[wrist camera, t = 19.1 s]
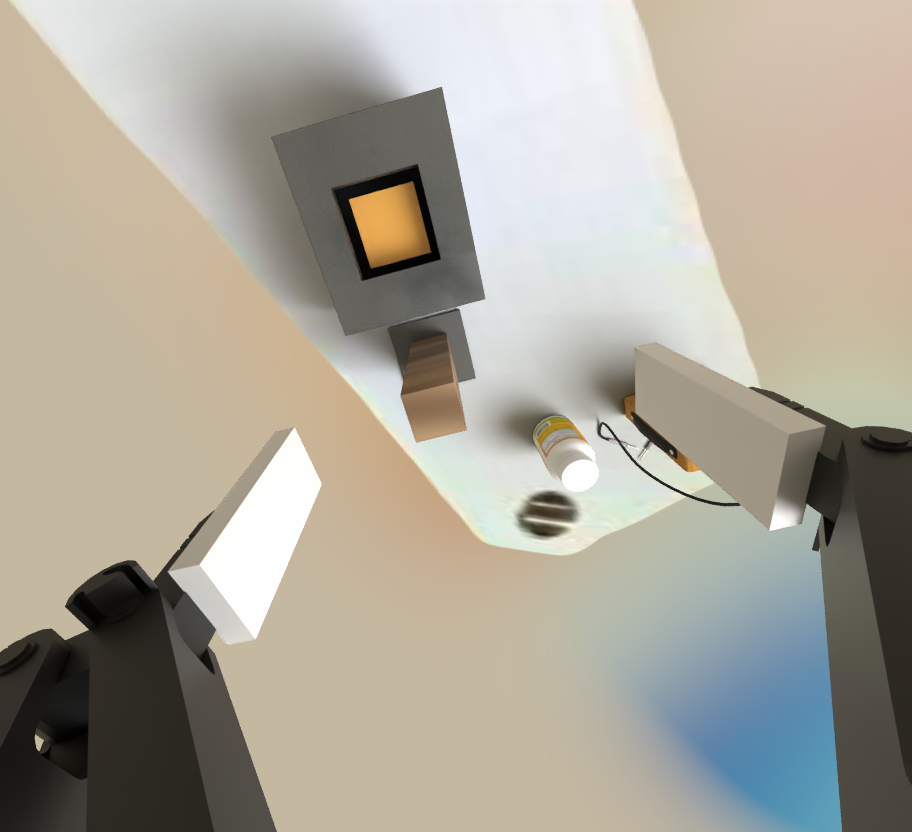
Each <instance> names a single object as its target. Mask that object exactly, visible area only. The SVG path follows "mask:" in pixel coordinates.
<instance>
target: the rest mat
mask: <svg viewBox="0 0 912 832" xmlns="http://www.w3.org/2000/svg"><path fill="white" fill-rule="evenodd" d="M388 330H389V333H390V336H391V339H392V342H393V345H394V348H395V351H396V354H397V357H398V360H399V364H400V367H401V370H402V373H403V376H405V371H406V366H407V361H408V356H409V351H410V346H411V342H414V341H418V340H422V339H425V338H429V337H433V336H437V335H441V334H445V333H446V334H447V338H448V342H449V345H450V349H451V353H452V357H453V361H454V365H455V369H456V375H457V380H458V383H459V382H463V381H467V380H471V379H475V378H476V377H475V373H474V369H473V365H472V360H471V356H470V352H469V348H468V343H467V339H466V335H465V331H464V327H463V322H462V318H461V314H460V310H455V311H452V312H448V313H444V314H440V315H436V316H433V317H429V318H425V319H421V320H417V321H414V322H410V323H406V324H402V325H398V326H395V327H391V328H388Z"/></svg>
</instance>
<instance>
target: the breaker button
mask: <svg viewBox="0 0 912 832" xmlns="http://www.w3.org/2000/svg"><path fill="white" fill-rule="evenodd" d="M349 201H350V205H351V208H352V211H353V214H354V217H355V220H356V223H357V226H358V229H359V233H360V236H361V239H362V242H363V245H364V248H365V251H366V254H367V257H368V261H369V264H370V267H371V269H372V268H376V267H379V266H383V265H387V264H390V263H394V262H398V261H401V260H405V259H409V258H412V257H416V256H420V255H423V254H427V253H431V249H430V246H429V242H428V238H427V234H426V230H425V226H424V222H423V218H422V214H421V210H420V206H419V202H418V198H417V194H416V190H415V186H414V183H413V181H412V182H409V183H405V184H402V185H398V186H394V187H391V188H387V189H384V190H380V191H377V192H373V193H370V194H366V195H363V196H359V197H355V198H352V199H349Z"/></svg>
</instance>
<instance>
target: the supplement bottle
mask: <svg viewBox="0 0 912 832" xmlns="http://www.w3.org/2000/svg"><path fill="white" fill-rule="evenodd" d="M533 440H534V443H535V446H536V448H537V449H538V451H539V453H540V455H541V457H542V459H543V461H544V463H545V465H546V467H547V469H548V471H549V472H550V474H551V475H552V476H553V477H554V478H555V479H557V480H559V481H561V482H562V484H563V485H564V487H566V488H567V489H569V490H571V491H583V490H586V489H588V488H589V487H591V486H592V485H593V484H594V483H595V482H596V480H597V478H598V468H597V466H596V464H595V454H594V451H593V449H592V448H591V446H590V445H589V444H588V442H587V441H586V440H585V438H584V437H583V436H582V435H581V433H580V432H579V431H578V430H577V428H576V427H575V426H574V424H573V423H572V422H571V421H570V420H569V419H567V418H565V417H563V416H550V417H547V418H545V419H543V420H542V421H541V422H540V423H539V424H538V425H537V426H536V428H535V430H534V433H533Z"/></svg>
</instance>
